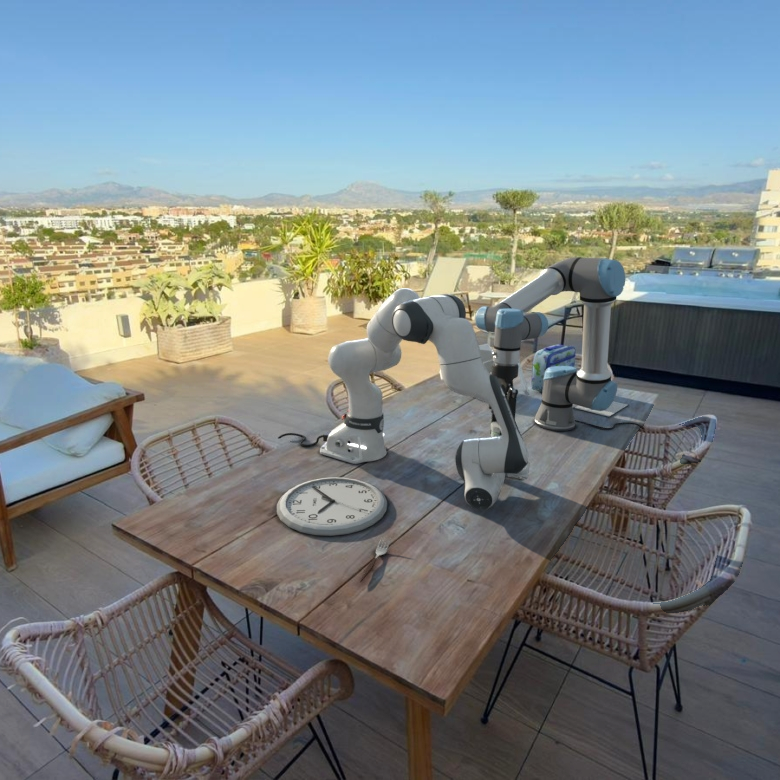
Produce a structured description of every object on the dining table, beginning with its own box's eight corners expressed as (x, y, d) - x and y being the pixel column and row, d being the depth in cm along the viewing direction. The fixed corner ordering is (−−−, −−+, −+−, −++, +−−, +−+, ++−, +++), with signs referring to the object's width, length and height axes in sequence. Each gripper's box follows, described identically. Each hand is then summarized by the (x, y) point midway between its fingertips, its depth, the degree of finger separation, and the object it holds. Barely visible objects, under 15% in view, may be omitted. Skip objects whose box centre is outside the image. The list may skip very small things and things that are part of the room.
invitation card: (608, 416, 214) (573, 407, 224) (608, 416, 214) (573, 408, 224) (628, 404, 229) (594, 396, 238) (628, 405, 229) (594, 397, 238)
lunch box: (547, 397, 237) (552, 352, 231) (526, 391, 245) (531, 348, 238) (574, 386, 255) (580, 344, 249) (554, 381, 262) (559, 340, 256)
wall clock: (392, 527, 129) (268, 531, 127) (391, 533, 130) (269, 537, 127) (383, 473, 158) (282, 475, 155) (383, 478, 158) (282, 480, 156)
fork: (354, 582, 112) (354, 574, 111) (381, 542, 126) (381, 535, 125) (365, 585, 111) (365, 577, 110) (391, 545, 125) (391, 537, 125)
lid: (502, 434, 153) (503, 429, 153) (486, 429, 157) (487, 424, 156) (513, 429, 157) (513, 424, 156) (497, 424, 161) (497, 419, 160)
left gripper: (528, 469, 143) (533, 450, 156) (455, 457, 150) (466, 440, 163) (526, 490, 145) (531, 470, 158) (454, 477, 152) (465, 458, 165)
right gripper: (480, 356, 158) (475, 427, 165) (507, 372, 141) (500, 451, 148) (503, 355, 160) (497, 425, 167) (533, 370, 143) (525, 448, 150)
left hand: (497, 454), depth 160 cm, fingers closed on jar, 5 cm apart
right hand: (499, 437), depth 158 cm, fingers closed on lid, 5 cm apart
